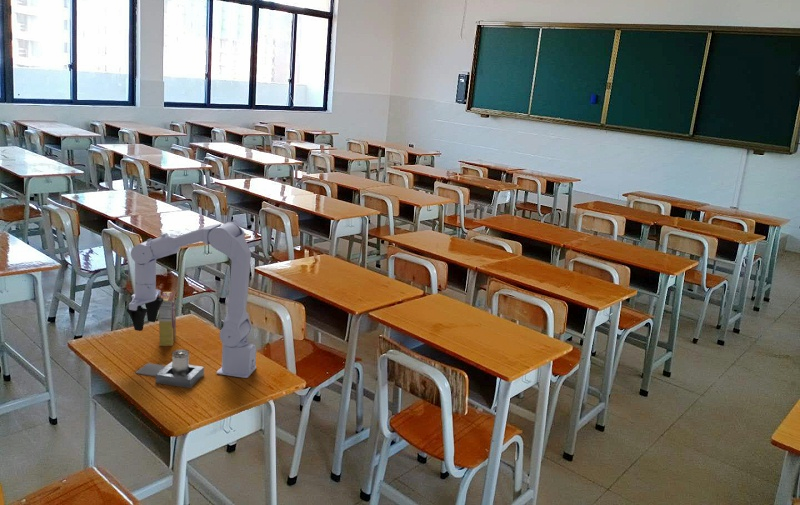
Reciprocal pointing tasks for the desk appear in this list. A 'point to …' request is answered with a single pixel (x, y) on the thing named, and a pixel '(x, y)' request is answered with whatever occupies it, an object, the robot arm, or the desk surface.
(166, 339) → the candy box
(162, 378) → the housing
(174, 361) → the metal cylinder
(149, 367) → the mat
